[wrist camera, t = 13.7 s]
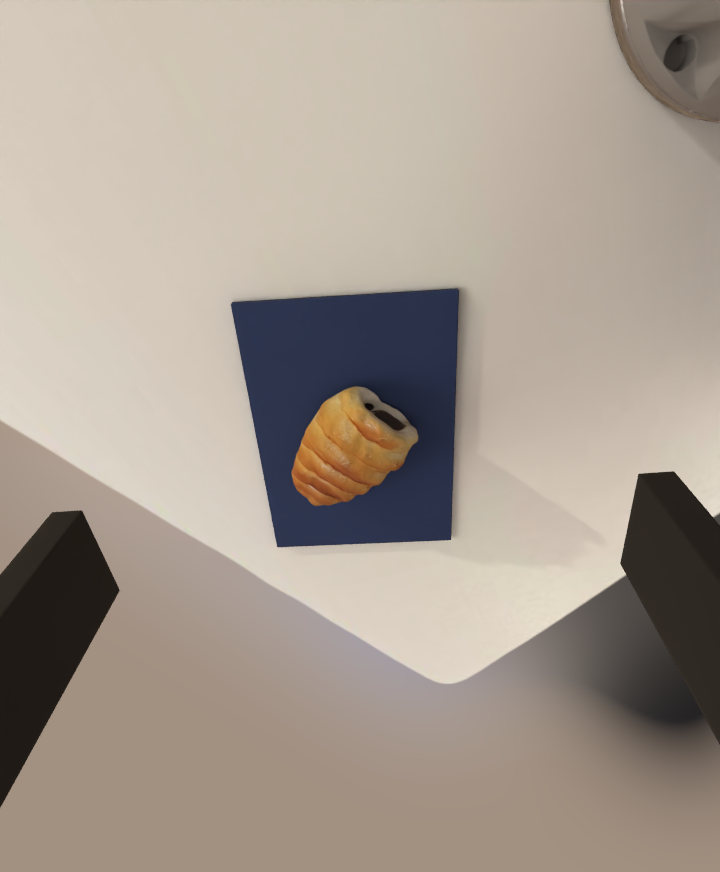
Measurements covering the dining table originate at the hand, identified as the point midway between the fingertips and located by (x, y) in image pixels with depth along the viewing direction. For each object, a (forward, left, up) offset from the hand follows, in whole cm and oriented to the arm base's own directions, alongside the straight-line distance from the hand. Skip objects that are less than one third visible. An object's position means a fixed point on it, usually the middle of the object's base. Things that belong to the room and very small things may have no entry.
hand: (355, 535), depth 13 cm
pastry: (+1, +11, -22) cm, 25 cm away
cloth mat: (+1, +10, -23) cm, 25 cm away
